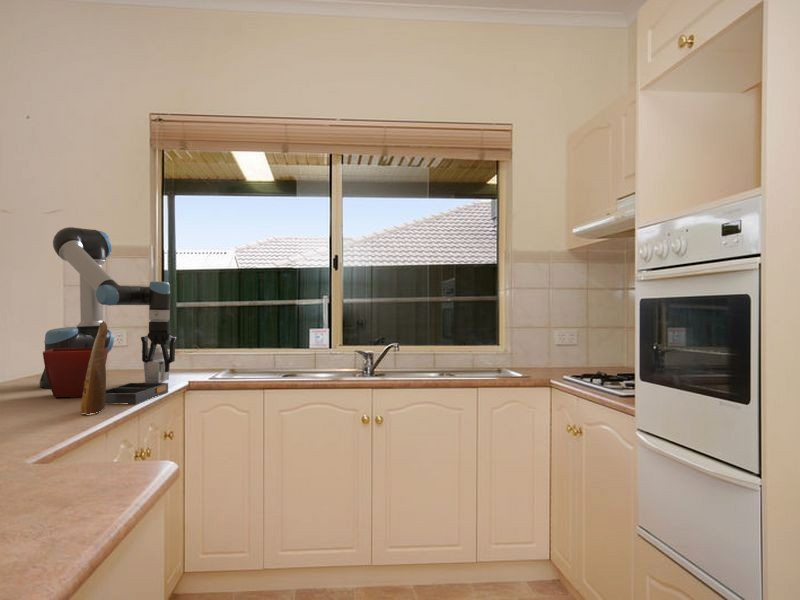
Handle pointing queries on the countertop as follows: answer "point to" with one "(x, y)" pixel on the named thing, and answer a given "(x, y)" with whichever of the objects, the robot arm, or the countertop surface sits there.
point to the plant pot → (67, 370)
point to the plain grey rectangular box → (155, 371)
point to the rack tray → (135, 392)
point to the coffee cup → (157, 355)
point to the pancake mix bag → (95, 376)
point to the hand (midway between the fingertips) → (158, 380)
